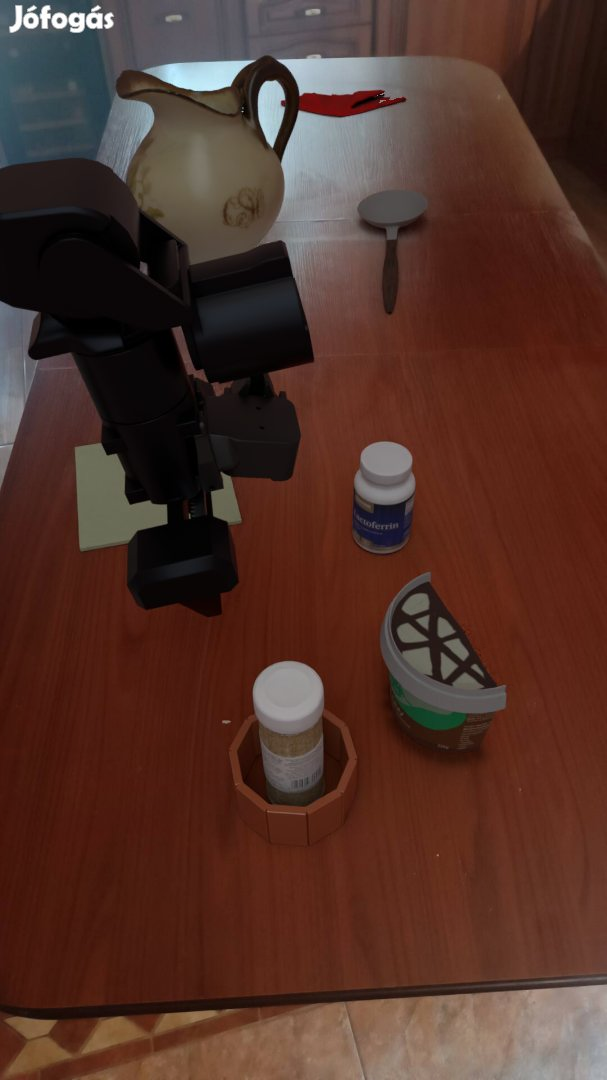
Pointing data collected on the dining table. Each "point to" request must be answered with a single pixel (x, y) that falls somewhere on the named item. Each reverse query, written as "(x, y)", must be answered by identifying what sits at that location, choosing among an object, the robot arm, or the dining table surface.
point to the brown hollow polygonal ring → (294, 820)
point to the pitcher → (211, 159)
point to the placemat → (125, 502)
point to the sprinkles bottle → (291, 732)
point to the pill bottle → (383, 498)
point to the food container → (436, 673)
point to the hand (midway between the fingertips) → (210, 565)
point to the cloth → (344, 102)
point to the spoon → (392, 228)
